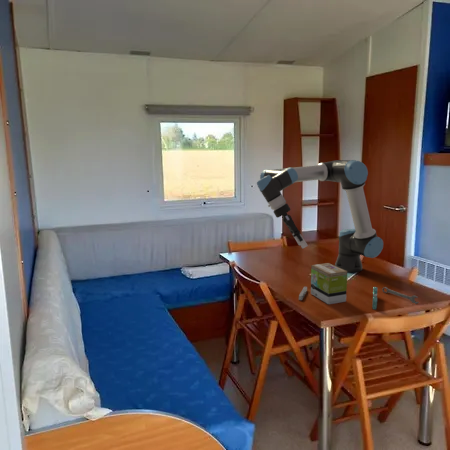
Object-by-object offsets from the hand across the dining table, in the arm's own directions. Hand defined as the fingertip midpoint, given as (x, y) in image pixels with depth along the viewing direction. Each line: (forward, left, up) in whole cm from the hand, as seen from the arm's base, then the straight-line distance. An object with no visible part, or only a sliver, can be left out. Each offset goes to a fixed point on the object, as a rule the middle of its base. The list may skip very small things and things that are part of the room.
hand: (303, 245), depth 195 cm
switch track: (+1, +17, -24) cm, 30 cm away
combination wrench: (-10, +43, -24) cm, 51 cm away
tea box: (+1, +12, -24) cm, 27 cm away
